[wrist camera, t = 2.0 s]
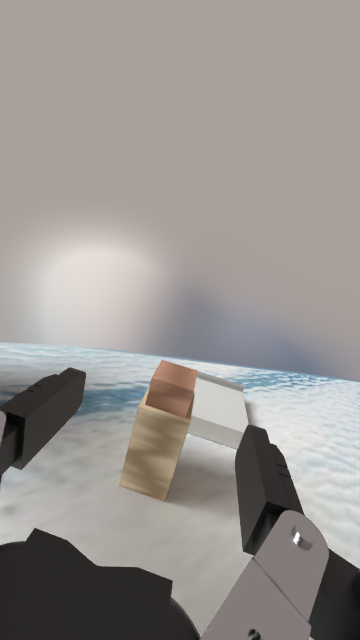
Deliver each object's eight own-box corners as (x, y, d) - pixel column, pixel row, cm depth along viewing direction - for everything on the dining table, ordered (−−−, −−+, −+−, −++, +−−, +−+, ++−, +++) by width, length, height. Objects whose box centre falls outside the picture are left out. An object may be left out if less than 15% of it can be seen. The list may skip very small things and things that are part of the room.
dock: (151, 420, 34) (156, 398, 33) (167, 380, 46) (172, 363, 45) (243, 451, 33) (252, 430, 32) (236, 402, 45) (243, 385, 44)
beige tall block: (119, 485, 24) (145, 378, 21) (135, 448, 29) (158, 356, 25) (164, 501, 24) (199, 395, 20) (173, 461, 29) (202, 370, 25)
